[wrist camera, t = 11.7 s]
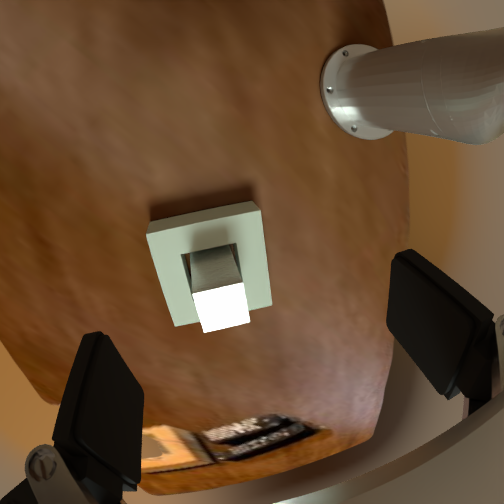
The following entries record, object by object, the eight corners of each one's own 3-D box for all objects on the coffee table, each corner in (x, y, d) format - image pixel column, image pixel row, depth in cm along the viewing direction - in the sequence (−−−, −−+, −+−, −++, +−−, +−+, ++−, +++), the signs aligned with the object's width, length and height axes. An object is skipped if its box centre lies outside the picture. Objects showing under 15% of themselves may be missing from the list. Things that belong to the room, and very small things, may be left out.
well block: (252, 200, 34) (260, 210, 31) (264, 288, 40) (272, 305, 36) (149, 221, 33) (145, 234, 29) (175, 307, 38) (175, 326, 34)
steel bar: (225, 236, 35) (242, 282, 26) (232, 268, 37) (250, 322, 28) (189, 244, 35) (192, 294, 25) (197, 276, 37) (204, 332, 27)
